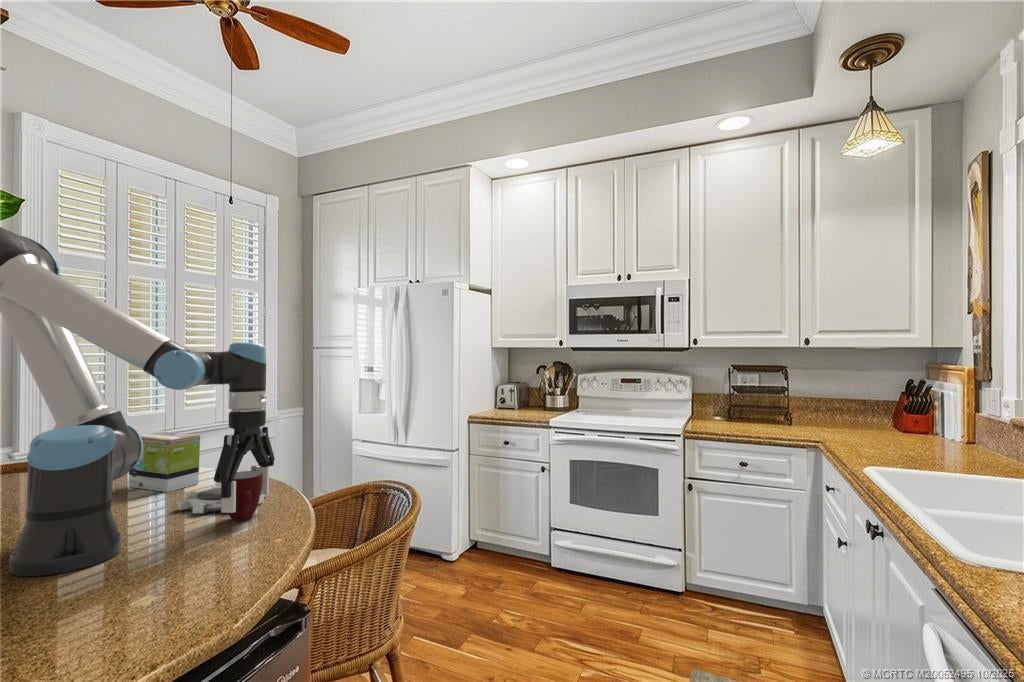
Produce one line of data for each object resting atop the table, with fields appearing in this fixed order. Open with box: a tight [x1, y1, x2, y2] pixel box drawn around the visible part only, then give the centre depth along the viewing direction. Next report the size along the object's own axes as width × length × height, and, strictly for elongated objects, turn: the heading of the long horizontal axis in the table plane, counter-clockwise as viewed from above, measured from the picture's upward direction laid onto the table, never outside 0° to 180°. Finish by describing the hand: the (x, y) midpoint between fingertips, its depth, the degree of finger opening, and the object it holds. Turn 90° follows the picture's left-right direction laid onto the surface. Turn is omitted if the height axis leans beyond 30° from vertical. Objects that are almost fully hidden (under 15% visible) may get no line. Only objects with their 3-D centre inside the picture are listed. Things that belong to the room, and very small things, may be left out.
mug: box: [227, 470, 263, 522], centre depth 111 cm, size 10×8×10 cm
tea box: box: [128, 431, 201, 493], centre depth 139 cm, size 15×10×15 cm
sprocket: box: [177, 464, 268, 515], centre depth 123 cm, size 19×19×8 cm
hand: (246, 502), depth 111 cm, fingers open, 13 cm apart
